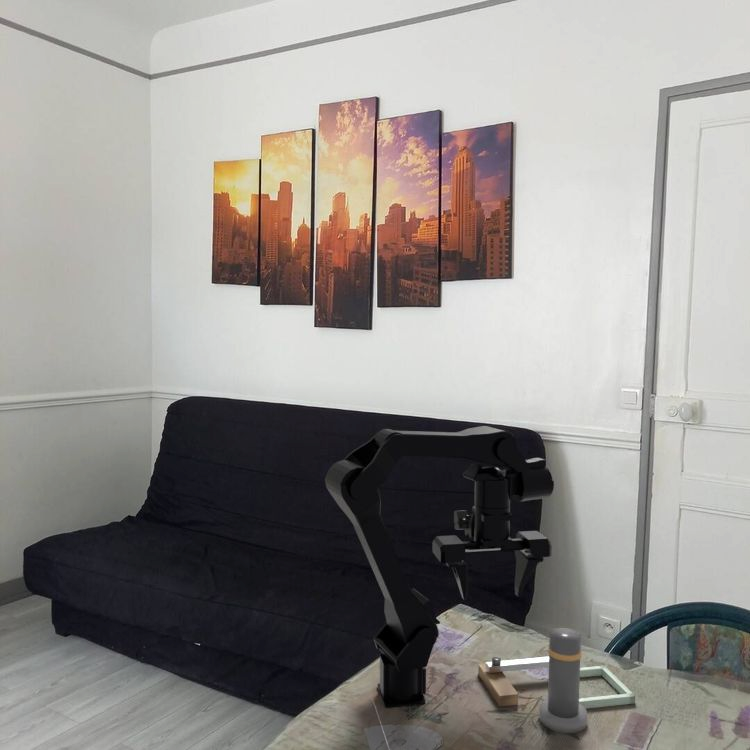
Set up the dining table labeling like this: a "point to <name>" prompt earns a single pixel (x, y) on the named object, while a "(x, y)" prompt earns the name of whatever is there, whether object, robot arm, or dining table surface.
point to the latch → (516, 664)
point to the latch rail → (498, 686)
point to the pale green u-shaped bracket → (610, 700)
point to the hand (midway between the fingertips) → (490, 597)
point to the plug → (563, 684)
